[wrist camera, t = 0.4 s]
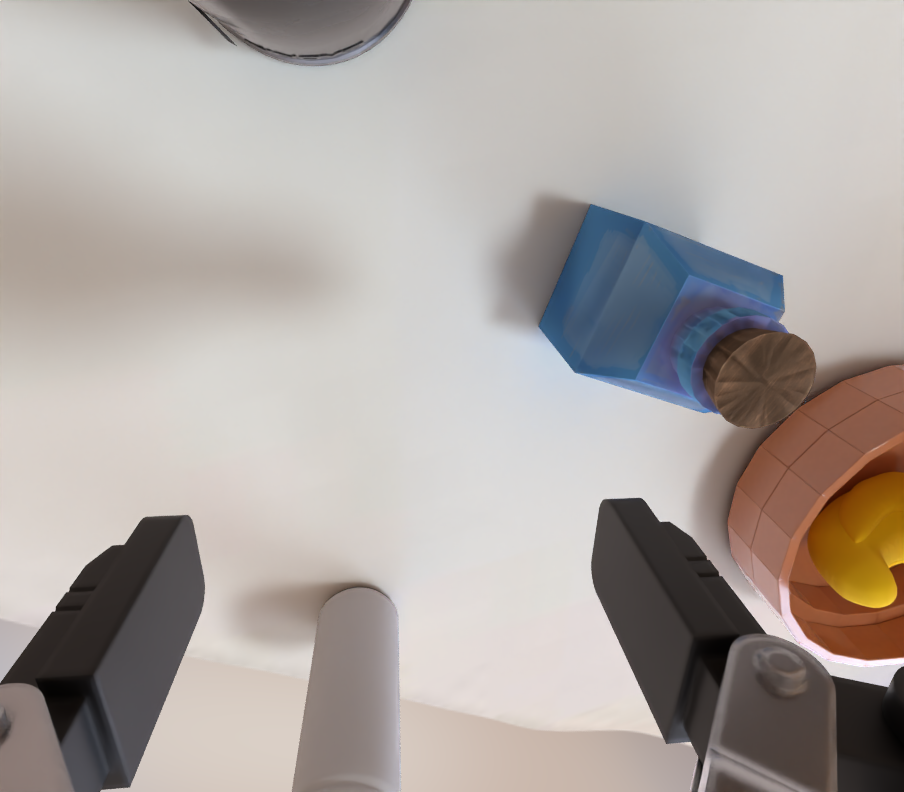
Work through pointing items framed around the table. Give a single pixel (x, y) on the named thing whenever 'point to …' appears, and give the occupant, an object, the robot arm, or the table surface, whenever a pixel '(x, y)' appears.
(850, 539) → the duckling
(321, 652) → the beverage can
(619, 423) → the table surface
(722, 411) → the perfume bottle
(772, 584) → the bowl
